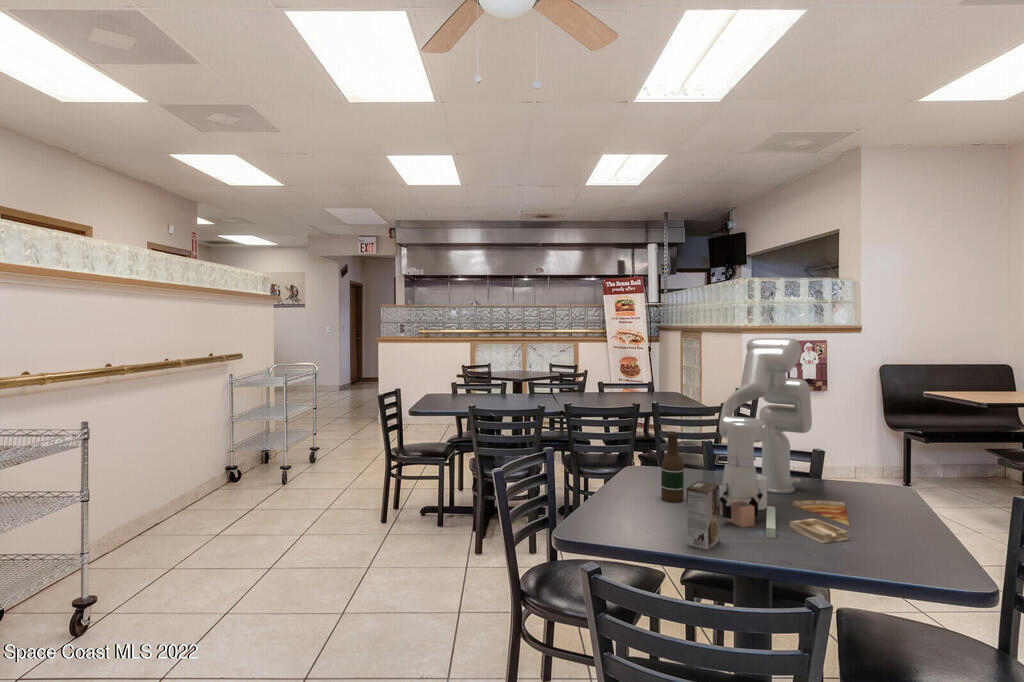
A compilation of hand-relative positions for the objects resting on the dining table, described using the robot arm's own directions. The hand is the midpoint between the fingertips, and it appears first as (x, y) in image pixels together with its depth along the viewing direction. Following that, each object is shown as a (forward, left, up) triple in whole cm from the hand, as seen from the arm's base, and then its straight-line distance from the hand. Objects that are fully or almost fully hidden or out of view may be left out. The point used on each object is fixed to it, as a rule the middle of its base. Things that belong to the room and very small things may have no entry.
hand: (740, 516), depth 172 cm
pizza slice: (-31, -1, -3) cm, 31 cm away
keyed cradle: (-15, +15, -2) cm, 21 cm away
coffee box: (+21, +11, -2) cm, 24 cm away
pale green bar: (-7, +5, -2) cm, 9 cm away
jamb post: (0, -10, -2) cm, 10 cm away
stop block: (0, 0, -2) cm, 2 cm away
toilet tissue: (-14, -14, -2) cm, 20 cm away
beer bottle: (+7, -27, -2) cm, 28 cm away
